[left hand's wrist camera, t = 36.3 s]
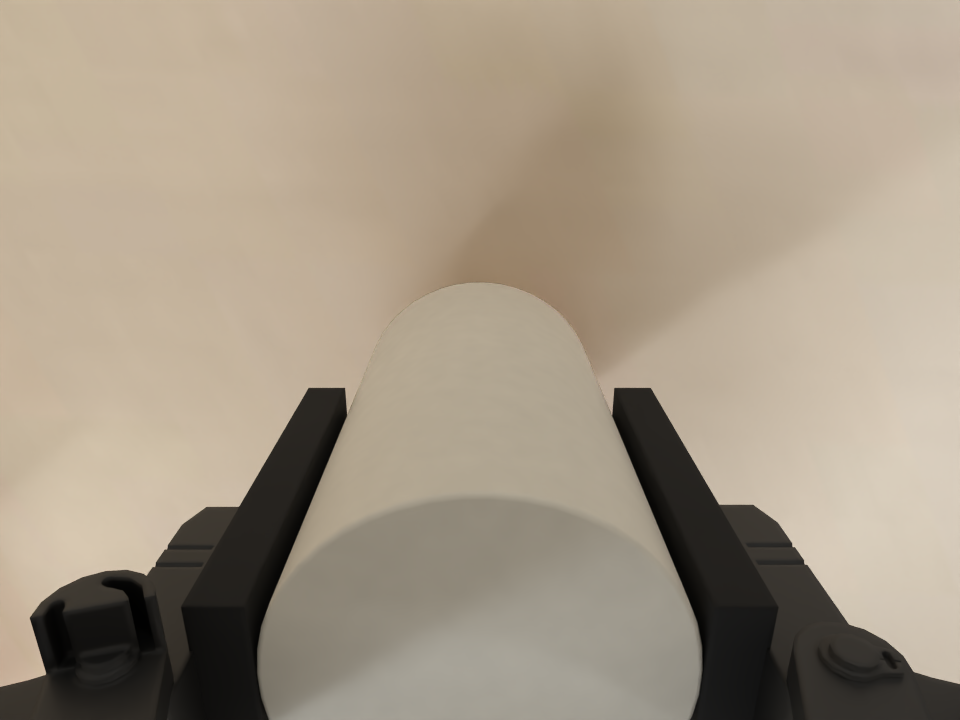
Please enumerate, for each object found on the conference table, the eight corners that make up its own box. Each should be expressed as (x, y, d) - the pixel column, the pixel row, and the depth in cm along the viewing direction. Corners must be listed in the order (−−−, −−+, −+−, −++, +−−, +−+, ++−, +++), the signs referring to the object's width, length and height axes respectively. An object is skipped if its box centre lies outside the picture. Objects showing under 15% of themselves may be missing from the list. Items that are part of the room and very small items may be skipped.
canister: (532, 241, 16) (596, 415, 7) (625, 433, 18) (765, 757, 9) (326, 343, 17) (162, 607, 8) (434, 516, 19) (394, 883, 10)
